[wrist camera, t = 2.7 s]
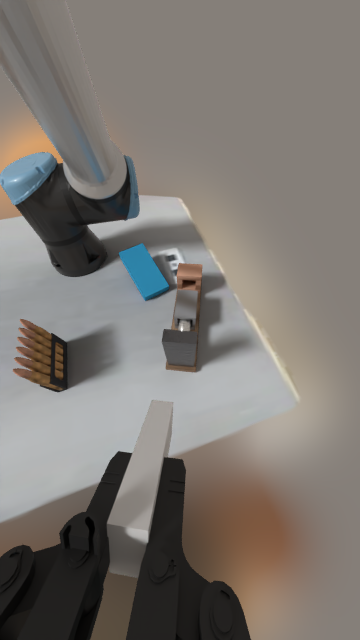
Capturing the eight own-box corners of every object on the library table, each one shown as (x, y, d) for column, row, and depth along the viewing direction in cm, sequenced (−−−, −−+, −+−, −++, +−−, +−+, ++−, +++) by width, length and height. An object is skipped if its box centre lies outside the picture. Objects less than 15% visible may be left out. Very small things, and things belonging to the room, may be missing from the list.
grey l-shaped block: (193, 367, 36) (196, 344, 26) (168, 365, 36) (161, 341, 26) (198, 303, 44) (201, 266, 34) (177, 301, 44) (174, 265, 34)
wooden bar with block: (195, 372, 37) (197, 362, 31) (166, 369, 37) (162, 358, 31) (201, 282, 49) (203, 263, 43) (179, 281, 49) (178, 261, 43)
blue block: (167, 297, 53) (138, 249, 56) (169, 285, 46) (136, 232, 50) (146, 307, 51) (117, 258, 54) (144, 297, 44) (112, 241, 48)
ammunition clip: (58, 344, 41) (14, 316, 30) (66, 342, 41) (26, 313, 31) (57, 392, 36) (5, 378, 25) (67, 389, 36) (19, 373, 26)
